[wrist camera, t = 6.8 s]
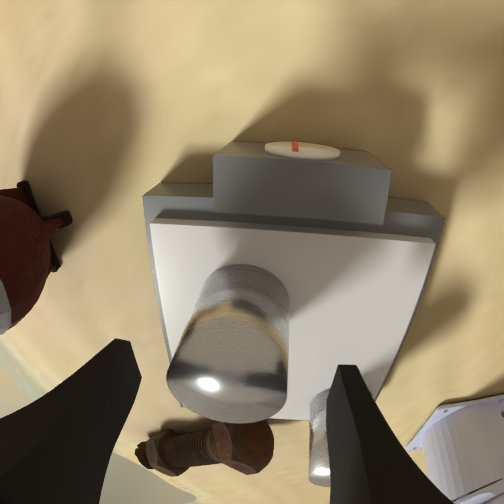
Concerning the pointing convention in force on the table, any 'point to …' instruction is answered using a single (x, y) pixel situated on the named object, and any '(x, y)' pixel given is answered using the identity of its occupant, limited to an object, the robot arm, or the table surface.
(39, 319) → the table surface
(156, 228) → the scale
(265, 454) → the bolt
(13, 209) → the mate gourd
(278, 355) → the cylinder
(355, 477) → the robot arm
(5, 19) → the table surface
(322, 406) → the cylinder
